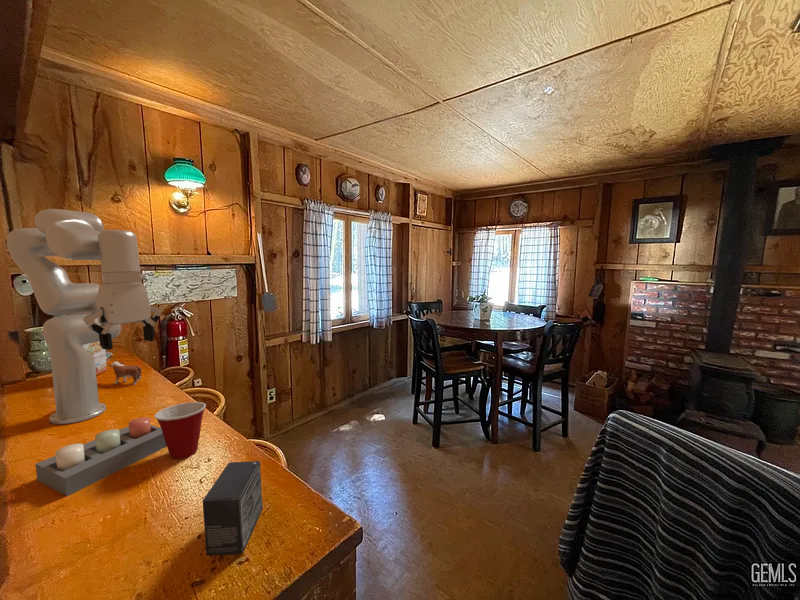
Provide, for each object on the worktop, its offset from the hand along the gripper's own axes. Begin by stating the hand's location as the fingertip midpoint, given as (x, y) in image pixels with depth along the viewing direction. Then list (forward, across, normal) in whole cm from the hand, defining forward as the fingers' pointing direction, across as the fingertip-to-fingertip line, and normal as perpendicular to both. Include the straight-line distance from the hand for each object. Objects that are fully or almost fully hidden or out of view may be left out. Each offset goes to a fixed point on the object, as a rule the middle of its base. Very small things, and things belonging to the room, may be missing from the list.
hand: (129, 344), depth 86 cm
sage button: (+25, +8, +3) cm, 26 cm away
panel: (+27, +8, +3) cm, 28 cm away
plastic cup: (+28, -1, +16) cm, 32 cm away
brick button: (+25, +1, +3) cm, 25 cm away
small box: (+29, +11, +48) cm, 57 cm away
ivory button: (+25, +15, +3) cm, 29 cm away
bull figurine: (+24, -24, -50) cm, 61 cm away
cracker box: (+23, -22, -71) cm, 78 cm away
